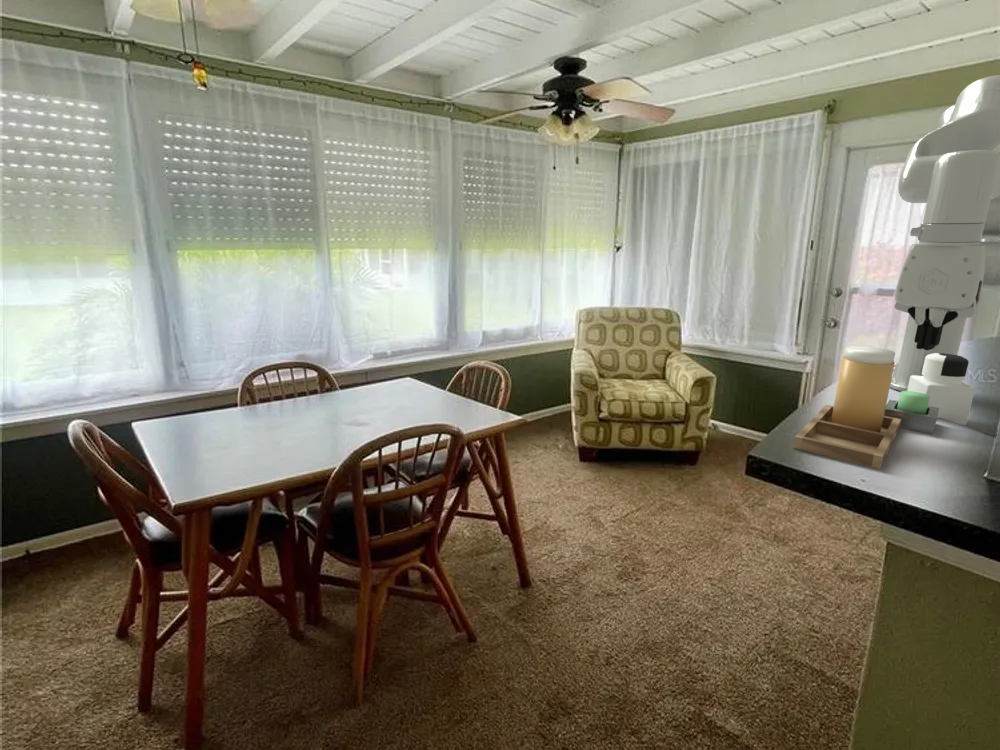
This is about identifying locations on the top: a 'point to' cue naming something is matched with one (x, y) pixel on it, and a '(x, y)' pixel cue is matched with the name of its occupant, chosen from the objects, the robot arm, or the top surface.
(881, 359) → the bottle
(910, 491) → the top surface
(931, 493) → the top surface
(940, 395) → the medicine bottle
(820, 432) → the wooden tray
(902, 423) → the button pedestal
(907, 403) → the button
